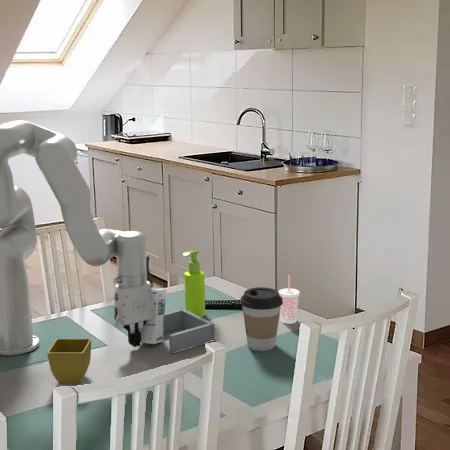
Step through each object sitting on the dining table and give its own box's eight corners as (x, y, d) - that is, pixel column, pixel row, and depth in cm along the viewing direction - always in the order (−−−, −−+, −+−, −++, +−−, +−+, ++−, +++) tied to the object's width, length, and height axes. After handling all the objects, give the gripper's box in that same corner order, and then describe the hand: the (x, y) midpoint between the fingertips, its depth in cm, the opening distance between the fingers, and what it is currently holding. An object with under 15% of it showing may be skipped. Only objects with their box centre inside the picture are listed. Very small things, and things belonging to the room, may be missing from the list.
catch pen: (172, 354, 190) (171, 336, 189) (142, 336, 202) (141, 319, 201) (214, 341, 199) (214, 323, 197) (183, 324, 210) (183, 308, 209)
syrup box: (155, 344, 193) (159, 289, 193) (135, 342, 195) (138, 287, 195) (163, 341, 198) (167, 288, 199) (143, 339, 200) (146, 286, 200)
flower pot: (48, 387, 172) (46, 352, 170) (58, 371, 181) (56, 337, 179) (85, 388, 172) (83, 352, 170) (93, 372, 180) (91, 338, 178)
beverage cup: (288, 326, 208) (288, 279, 205) (273, 320, 213) (274, 274, 210) (303, 321, 212) (304, 275, 209) (289, 315, 217) (289, 270, 213)
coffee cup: (240, 337, 201) (240, 285, 197) (282, 337, 200) (282, 285, 197) (239, 354, 190) (239, 299, 186) (283, 354, 189) (283, 300, 186)
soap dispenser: (178, 316, 217) (177, 251, 212) (194, 310, 222) (193, 246, 217) (193, 320, 213) (191, 255, 209) (209, 314, 218) (208, 250, 214)
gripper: (113, 288, 181) (116, 356, 186) (164, 277, 190) (166, 342, 194) (99, 280, 187) (102, 347, 192) (149, 270, 196) (151, 334, 200)
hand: (134, 344), depth 193 cm, fingers closed
